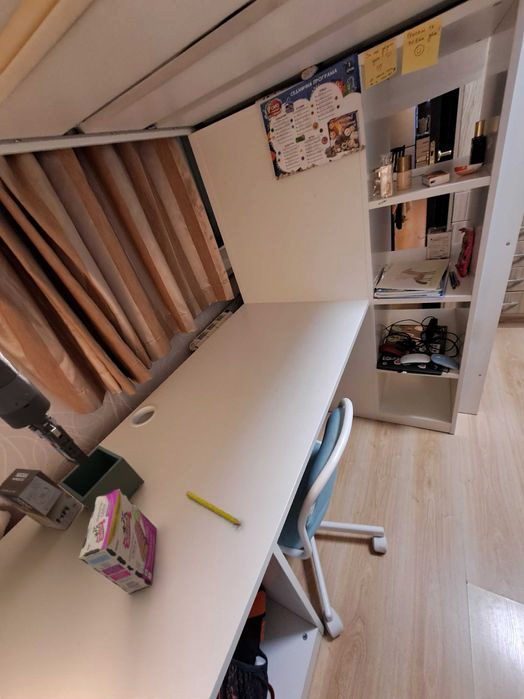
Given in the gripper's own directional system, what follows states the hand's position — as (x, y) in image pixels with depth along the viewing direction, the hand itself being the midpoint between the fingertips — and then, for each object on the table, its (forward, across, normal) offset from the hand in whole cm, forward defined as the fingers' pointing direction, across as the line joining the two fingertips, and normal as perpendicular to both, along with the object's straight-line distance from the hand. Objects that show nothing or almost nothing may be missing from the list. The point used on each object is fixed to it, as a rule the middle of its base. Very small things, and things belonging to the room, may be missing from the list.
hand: (70, 451), depth 66 cm
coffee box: (+18, -10, -10) cm, 23 cm away
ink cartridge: (+4, 0, 0) cm, 4 cm away
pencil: (+18, +29, +8) cm, 35 cm away
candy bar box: (+18, +21, -6) cm, 29 cm away
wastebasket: (+18, 0, 0) cm, 18 cm away
